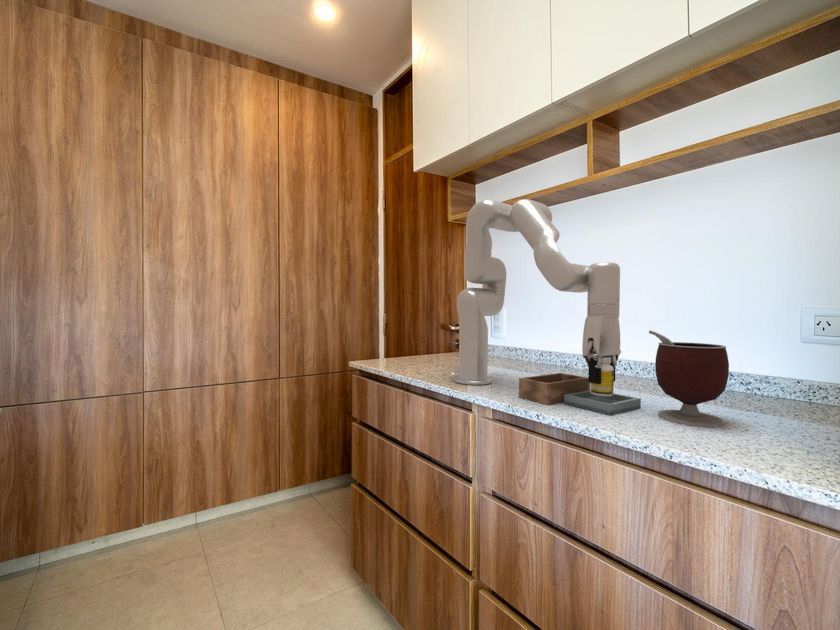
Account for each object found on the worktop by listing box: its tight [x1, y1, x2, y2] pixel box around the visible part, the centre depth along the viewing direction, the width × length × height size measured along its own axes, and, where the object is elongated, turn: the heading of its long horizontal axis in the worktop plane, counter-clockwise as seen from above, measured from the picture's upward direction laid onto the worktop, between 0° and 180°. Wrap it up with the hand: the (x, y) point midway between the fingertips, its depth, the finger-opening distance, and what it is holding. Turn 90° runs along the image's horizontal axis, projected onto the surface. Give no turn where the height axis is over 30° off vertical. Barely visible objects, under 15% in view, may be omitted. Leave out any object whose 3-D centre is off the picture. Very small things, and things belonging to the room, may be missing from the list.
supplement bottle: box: [590, 356, 615, 397], centre depth 104 cm, size 5×5×10 cm
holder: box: [518, 372, 591, 406], centre depth 114 cm, size 10×18×6 cm, turn 123°
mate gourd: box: [648, 329, 730, 428], centre depth 93 cm, size 16×14×20 cm
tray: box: [563, 390, 642, 417], centre depth 104 cm, size 13×13×2 cm
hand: (601, 381), depth 104 cm, fingers closed on supplement bottle, 5 cm apart
